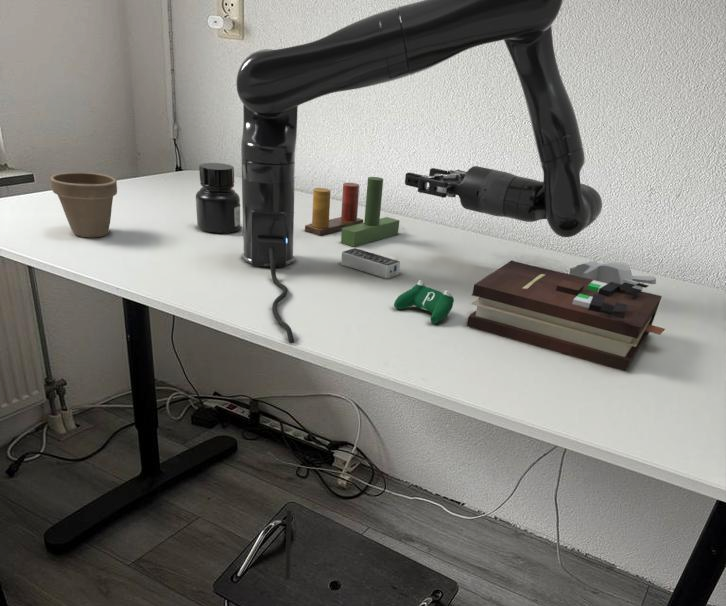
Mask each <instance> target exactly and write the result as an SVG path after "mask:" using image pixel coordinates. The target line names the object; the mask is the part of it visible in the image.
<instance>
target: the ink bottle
mask: <svg viewBox="0 0 726 606" xmlns="http://www.w3.org/2000/svg"><path fill="white" fill-rule="evenodd" d="M198 169H199V170H198V171H199V172H198V173H199V181H200V186H201V188H200V189H198V191H197V192H196V194H195V207H196V208H195V209H196V224H197V227H198V228H199V229H200V230H201V231H204V232H208V233H212V234H214V233H215V234H228V233H234V232H237V231H239V230H240V229H241V223H242V222H241V197H240V195H239V194H238V193H237V192H236V191H235V189H234V187H235V168H234V165H231V164H227V163H222V162H221V163H220V162H205V163H201V164H199V165H198Z"/></svg>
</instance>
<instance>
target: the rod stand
mask: <svg viewBox="0 0 726 606" xmlns="http://www.w3.org/2000/svg"><path fill="white" fill-rule="evenodd" d="M359 197H360V184H359V183H356V182H343V183H342V199H341V213H340V214H341V215H340V216H339V217H335V218H331V219H330V209H331V208H330V207H331V189H329V188H325V187H315V188H313V192H312V213H311V214H312V217H311V219H312V221H311V223H309V224H305V225H304V232H307V233H310V234H313V235H317V236H320V237H321V236H325V235H330V234H333V233H337V232H342V228H345V227H349V226H353V225H357V224H361V223H364V219H363V218H359V217H358V212H359V211H358V210H359Z"/></svg>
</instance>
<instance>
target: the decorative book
mask: <svg viewBox="0 0 726 606" xmlns="http://www.w3.org/2000/svg"><path fill="white" fill-rule="evenodd" d="M641 283H642V282H640V283H638V284H636V285H637V286H640V287H643V288H645V289H646V288H648V287H650V285H649V284H646V283H643V284H641ZM633 286H635V285H633V284H629V283H626V282H625V283H623V284H618V283H614V282H610V283H604V282H600V281H596V280H592V279H587V278H583V277H579V276H575V275H570V273H565V272H562V271H559V270H553V269H549V268H545V267H541V266H536V265H532V264H529V263H525V262H520V261H517V260H516V261H515V260H509V261H508V262H507V263H504V264H503V265H502V266H501V267H499V268H497V269H496V270H494V271H493V272H491V273H490V274H488V275H486V276H485V277H483V278H482V279H480V280H479V281H477V282H476V283H474V284H473V288H472V294H471V296H472V297H477V299H475V300H474V301H473V302H472V303H471V305H473V306H476V310H475V311H473V312H472V313H470V314H469V315H468V316H467V321H466V327H468V328H472V329H476V330H479V331H483V332H487V333H490V334H493V335H496V336H499V337H503V338H506V339H507V338H508V339H511V340H514V341H518V342H521V343H524V344H528V345H533V346H536V347H539V348H542V349H546V350H549V351H553V352H555V353H556V352H557V353H560V354H564V355H567V356H571V357H574V358H577V359H581V360H584V361H587V362H592V363H596V364H599V365H602V366H606V367H610V368H614V369H616V370H619V371H624V372H627V371H628V369H629V368H630V366H631V365H632V363H633V361H634V359H635V357H636V356H637V354H638V353H639V352H640V350H641V348H642V346H643V345H644V343H645V341H646V340H647V338H648V337H649V334H650V333H652V334H654V335H655V334H656V335H662V334H663V332H665V330H666V328H664V327H661V326H657V325H653V323H654V320H655V317H656V315H657V311H658V309H659V306H660V303H661V299H662V297H663V295H659V294H654V293H651V292H646V291H643V289H642V290H639V289H636V288H632V287H633Z"/></svg>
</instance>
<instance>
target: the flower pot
mask: <svg viewBox="0 0 726 606" xmlns="http://www.w3.org/2000/svg"><path fill="white" fill-rule="evenodd" d="M117 183H118V181H117V179H116V178H115V177H112V176H110V175H107V174H101V173H96V172H95V173H94V172H61V173H56V174H53V175H51V177H50V184H51V189H52V192H53V194H55V195H57V197H58V199H59V202H60V204H61V207H62V209H63V212H64V214H65V217H66V220H67V222H68V225H69V228H70V229H71V233H73V234H74V235H75V236H77V237H82V238H102V237H104V236H106V235H108V233H109V231H110V225H111V218H112V211H113V209H112V208H113V201H114V200H113V199H114V196H117V194H118V184H117Z"/></svg>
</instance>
